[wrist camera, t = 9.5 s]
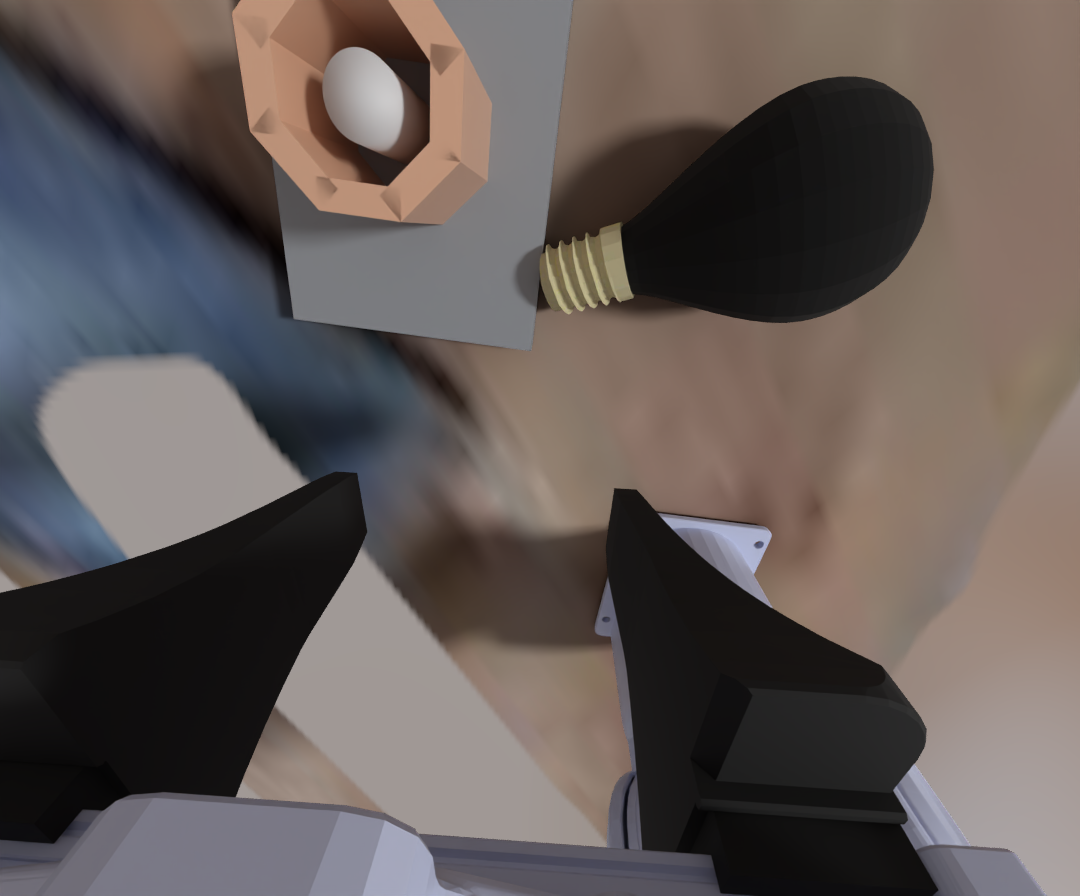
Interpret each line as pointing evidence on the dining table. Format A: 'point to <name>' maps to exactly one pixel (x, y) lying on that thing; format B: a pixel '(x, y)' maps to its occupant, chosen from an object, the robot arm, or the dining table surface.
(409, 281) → the duct plate
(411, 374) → the dining table surface
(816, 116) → the light bulb
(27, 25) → the dining table surface
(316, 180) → the collar
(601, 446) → the dining table surface
